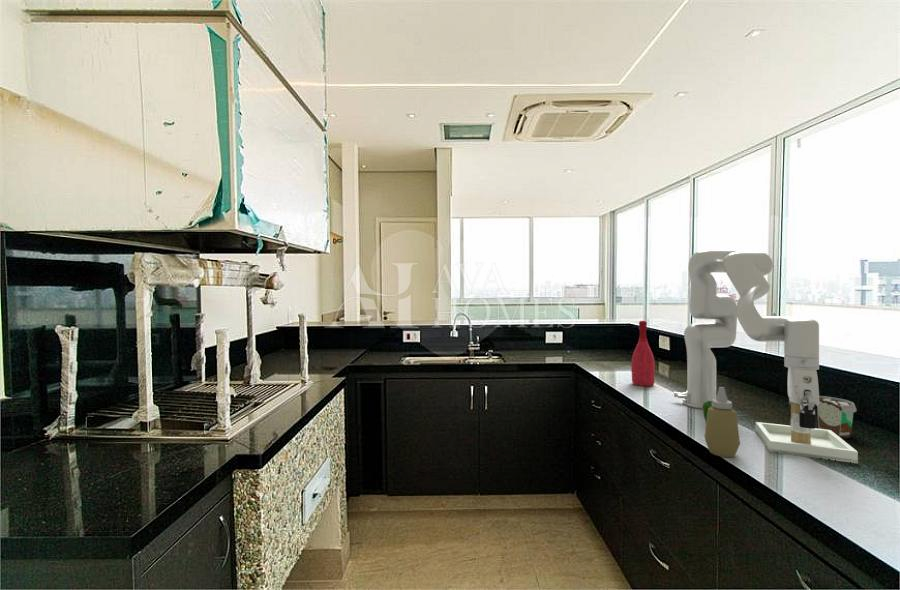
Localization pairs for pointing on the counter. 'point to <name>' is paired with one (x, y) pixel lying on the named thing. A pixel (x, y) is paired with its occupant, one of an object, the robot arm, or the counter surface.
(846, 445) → the tray
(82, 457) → the counter surface
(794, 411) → the sprinkles bottle
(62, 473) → the counter surface
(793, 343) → the robot arm
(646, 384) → the wine bottle
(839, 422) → the food container
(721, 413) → the squeeze bottle
